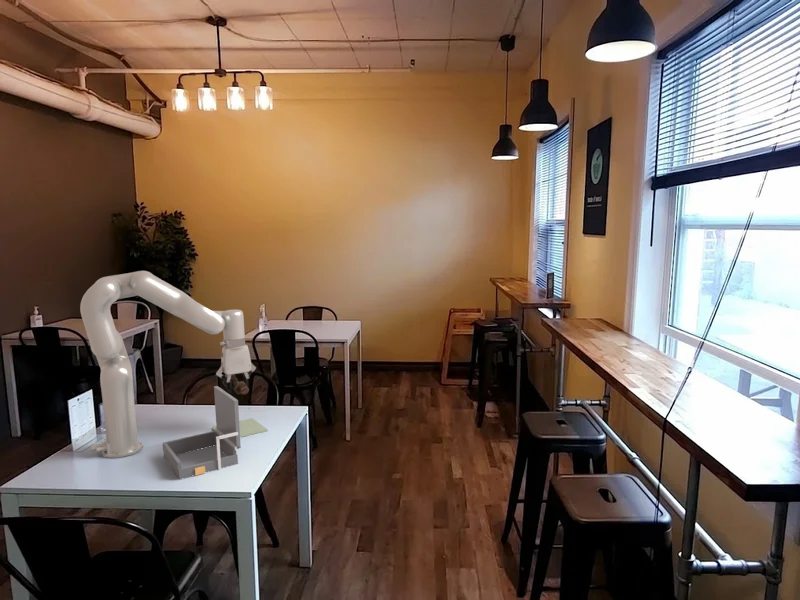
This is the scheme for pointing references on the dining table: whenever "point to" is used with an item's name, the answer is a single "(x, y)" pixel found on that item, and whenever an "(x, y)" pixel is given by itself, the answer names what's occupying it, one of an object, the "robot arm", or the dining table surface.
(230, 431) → the case
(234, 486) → the dining table surface
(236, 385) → the bolt
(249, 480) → the dining table surface
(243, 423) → the mat
